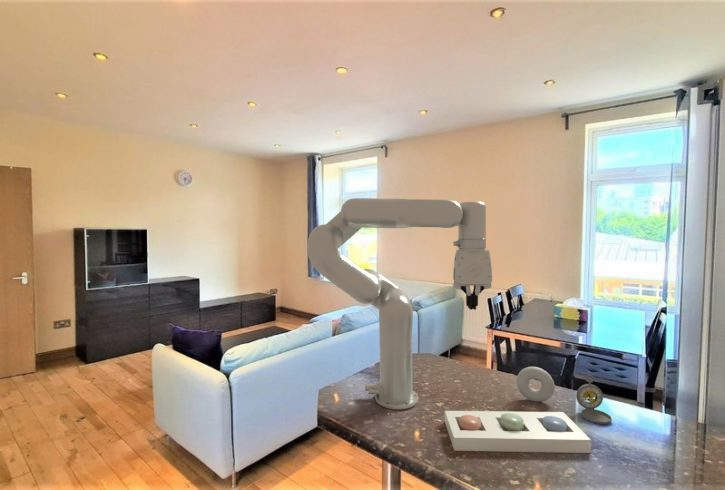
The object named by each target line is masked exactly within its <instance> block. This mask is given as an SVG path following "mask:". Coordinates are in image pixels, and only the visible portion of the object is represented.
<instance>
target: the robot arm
mask: <svg viewBox="0 0 725 490" xmlns="http://www.w3.org/2000/svg"><path fill="white" fill-rule="evenodd" d="M486 206H487V205H486V204H485V203H484V202H483V201H464V202H461V203H458V201H455V200H452V199H428V198H427V199H423V198H422V199H420V198H419V199H414V198H413V199H411V198H409V199H408V198H407V199H406V198H371V197H370V198H364V197H363V198H362V197H357V198H356V197H355V198H350V199H349V198H348V199H347V200H346V201H345V202H344V203H343V204H342V206H341V209H340V211H339V212H338V213H337V214H335V216H334V217H332V219H330V220H329V221H328V222H326V223H325V224H320V225H318V226H316V227H314V229H312V230H311V231H310V233H309V235H308V240H307V246H306V247H307V256H308V258H309V259H308V260H309V261H310V263H311V265H312V266H313V268H314V269H315V270H316V271H317V272H318V273H319V274H320V275H321V276H323V278H325V279H326V280H328V281H329V282H331V283H332V284H333V285H334V286H336V287H337V288H339V289H340V290H341V291H342V292H345V293H346V294H347V295H348V296H350V297H351V298H353V299H354V300H355V301H356V302H358V303H359V304H363V305H369V304H370V305H371V306H373V307H374V308H376V309H377V310H378V320H379V322H378V324H379V325H378V326H379V327H378V328H379V329H378V330H379V380H378V383H377V382H376V383H375V384H370V383H369V384H368V383H366V384H364V386H365V387H364V391H365V392H368V394H369V395H374V400H375V402H376V403H377V404H378V405H380V406H381V407H383V408H386V409H390V410H405V409H406V410H407V409H410V408H413V407H414V406H416V405H417V404H418V402H419V395H418V393H417V392H416V391H415V390H413V322H414V313H413V309H414V308H413V305H412V302H411V299H409V296H408V294H407V293H406V292H405V291H404V290H403V289H402V288H400V287H399V286H397V285H396V284H394V283H393V282H392V281H390V280H388V279H387V278H386V277H384V276H383V275H381V274H379V273H378V272H376V271H375V270H373V269H370V268H363V267H361V266H359V265H358V264H356V263H355V262H353V260H351V259H350V258H348V257H347V256H345V255H343V254H342V253H341V252H340V250H339V249H340V248H341V247H342V246H343V245H344V244H345V243H346V242H348V240H349V239H351V238H353V236H354V235H356V234H357V233H358V232H359V231H360V230H361V229H362V228H364V229H370V228H371V229H372V228H375V229H405V228H406V229H407V228H442V229H450V228H455V227H457V228H458V230H457V231H458V235H457V237H458V238H457V240H454V241H453V247H457V248H458V249H456V251H455V254H454V261H453V262H454V263H453V276H452V277H453V278H452V279H453V283H452V287H453V288H454V289H456V290H457V289H458V290H461V291H462V292H463V293H465V305H466V307H467V308H468V309H469V310H471V311H473V310H474V311H475V310H477V307H478V306H479V296H480V294H481V293H482V292H484V291H485V290H488V289H491V288H492V282H493V269H492V268H493V267H492V260H491V254H490V250H489V249H487V207H486ZM471 286H473V289H472V290H471Z"/></svg>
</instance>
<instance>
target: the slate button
mask: <svg viewBox="0 0 725 490" xmlns="http://www.w3.org/2000/svg"><path fill="white" fill-rule="evenodd" d="M543 427H544V428H545V429H546V430H547V431H548V432H567V423H566V422H565V421H564V420H563V419H561V418H558V417H554V416H546V417H544V418H543Z"/></svg>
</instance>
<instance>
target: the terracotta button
mask: <svg viewBox="0 0 725 490" xmlns="http://www.w3.org/2000/svg"><path fill="white" fill-rule="evenodd" d="M459 428H460V430H471V431H481V421H480V419H479V418H477V417H475V416H472V415H463V416H461V417H460V418H459Z"/></svg>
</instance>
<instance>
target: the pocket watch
mask: <svg viewBox="0 0 725 490" xmlns="http://www.w3.org/2000/svg"><path fill="white" fill-rule="evenodd" d="M587 377H592V378H593V379H592V378H588V379H586V378H587ZM584 380H585V381H586V382H587V383H585V384H582V385H581V386H579V388H577V390H576V393H575V397H576V401H577V403H578V404H579V405H580V406H581V407H583V408H584V409H582V410H581V416H582V417H583V418H584V419H586V420H587V421H590V422H592V423H595V424H602V425H605V424H606V425H607V424H610V423H612V421H613V420H612V419H613V418H612V416H611V415H610V414H608V413H607V412H604V411H603V410H599V409H597V408H598V407H599V406H601V404H603V401H604V394H603V391H602V390H601V388H599V387H598V386H597V385H595V384H592V383H593V382H594V381H595V377H594V376H593V375H590V374H587V375H585V376H584Z"/></svg>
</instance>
